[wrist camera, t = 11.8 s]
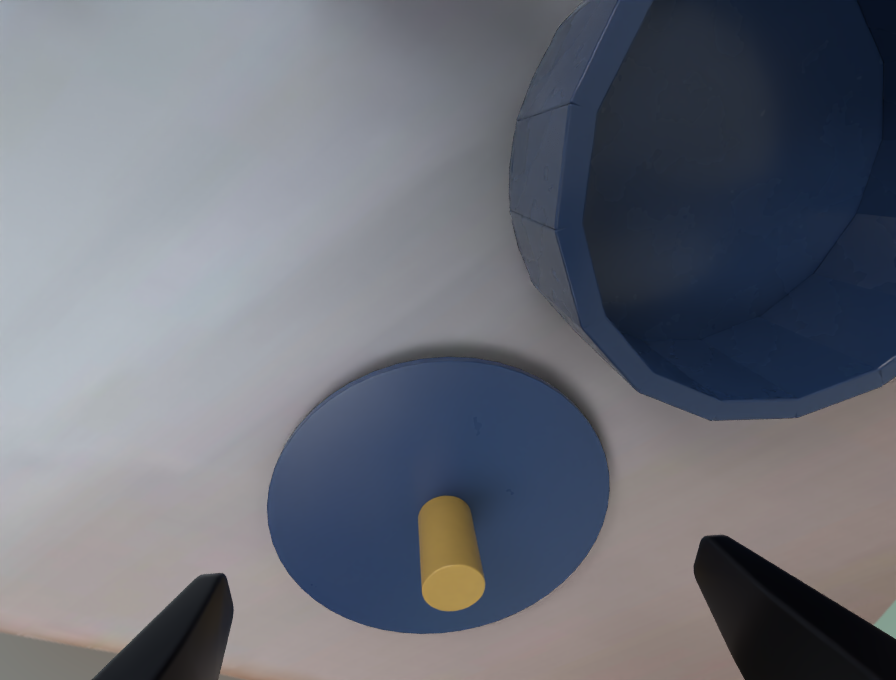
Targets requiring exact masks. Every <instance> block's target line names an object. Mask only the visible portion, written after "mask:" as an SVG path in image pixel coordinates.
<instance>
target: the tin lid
mask: <svg viewBox="0 0 896 680" xmlns="http://www.w3.org/2000/svg"><path fill="white" fill-rule="evenodd" d="M609 491H610V488H609V470H608V466H607V461H606V456H605V453H604V450H603V448H602V445H601V443H600V440H599V438H598V436H597V434H596V433H595V431H594V429H593V428H592V426H591V424H590V423H589V421H588V420H587V418H586V417H585V416H584V415H583V414H582V412H581V411H580V410H579V409H578V408H577V406H576V405H575V404H574V403H573V402H572V401H571V400H570V399H568V398H567V397H566V396H565V395H564V394H563V393H562V392H560V391H559V390H558V389H557V388H555V387H553V386H552V385H550V384H549V383H547V382H546V381H544V380H543V379H541V378H539V377H537V376H535V375H532V374H530V373H528V372H526V371H524V370H522V369H519V368H516V367H513V366H509V365H506V364H503V363H499V362H495V361H489V360H483V359H477V358H466V357H438V358H425V359H419V360H414V361H409V362H404V363H398V364H395V365H392V366H389V367H386V368H383V369H380V370H377V371H374V372H372V373H369V374H367V375H365V376H363V377H361V378H359V379H357V380H355V381H352V382H350V383H349V384H347V385H346V386H344V387H343V388H341V389H339V390H338V391H336V392H335V393H333V394H331V395H330V396H329V397H328V398H326V399H325V400H324V401H323V402H322V403H320V404H319V405H318V406H317V407H316V408H314V409H313V410H312V411H311V412H310V413H309V414H308V416H307V417H306V418H305V419H304V420H303V421H302V422H301V423H300V424H299V425H298V427H297V428H296V429H295V431H294V432H293V434H292V435H291V437H290V438H289V440H288V441H287V443H286V444H285V446H284V448H283V450H282V453H281V455H280V457H279V459H278V461H277V463H276V466H275V468H274V472H273V475H272V479H271V482H270V486H269V493H268V502H267V513H268V526H269V530H270V534H271V538H272V542H273V545H274V547H275V550H276V552H277V554H278V556H279V559H280V561H281V562H282V564H283V565H284V567H285V568H286V570H287V572H288V573H289V575H290V576H291V577H292V578H293V579H294V580H295V582H296V583H297V584H298V585H299V586H300V587H301V588H302V589H303V590H304V591H305V592H306V593H307V594H309V595H310V596H311V597H312V598H313V599H314V600H316V601H317V602H319V603H320V604H322V605H323V606H325V607H326V608H328V609H329V610H331V611H333V612H335V613H337V614H339V615H341V616H343V617H345V618H347V619H350V620H352V621H355V622H358V623H360V624H363V625H366V626H370V627H374V628H378V629H382V630H388V631H394V632H401V633H417V634H430V633H446V632H454V631H461V630H466V629H470V628H475V627H480V626H483V625H486V624H489V623H492V622H496V621H499V620H501V619H503V618H506V617H508V616H511V615H513V614H515V613H517V612H519V611H521V610H523V609H525V608H527V607H529V606H531V605H533V604H534V603H536V602H537V601H539V600H540V599H542V598H543V597H545V596H546V595H548V594H549V593H550V592H552V591H553V590H554V589H555V588H557V587H558V586H559V585H560V584H561V583H563V582H564V581H565V580H566V579H567V578H568V577H569V576H570V575H571V574H572V573H573V572H574V571H575V570H576V568H577V567H578V566H579V564H580V563H581V562H582V561H583V559H584V558H585V557H586V556H587V554H588V552H589V551H590V549H591V547H592V546H593V544H594V542H595V541H596V539H597V536H598V534H599V532H600V530H601V527H602V525H603V522H604V518H605V515H606V511H607V508H608V499H609Z"/></svg>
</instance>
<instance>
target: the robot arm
mask: <svg viewBox="0 0 896 680" xmlns="http://www.w3.org/2000/svg"><path fill="white" fill-rule="evenodd" d="M694 575H695V578H696V581H697V583H698V585H699V587H700V589H701V592H702V594H703V596H704V598H705V600H706V602H707V604H708V606H709V608H710V611H711V613H712V615H713V617H714V619H715V621H716V623H717V625H718V627H719V630H720V632H721V634H722V636H723V638H724V640H725V642H726V644H727V647H728V649H729V651H730V653H731V655H732V657H733V659H734V661H735V663H736V664H737V666H738V668H739V670H740V672H741V674H742V675H743V677H744V679H745V680H896V639H894V638H893V637H891V636H890V635H888V634H887V633H885V632H883V631H882V630H880V629H878V628H877V627H875V626H873V625H872V624H870V623H869V622H867V621H865V620H864V619H862V618H860V617H859V616H857V615H856V614H854V613H852V612H851V611H849V610H847V609H846V608H844V607H842V606H841V605H839V604H838V603H836V602H834V601H833V600H831V599H829V598H828V597H826V596H825V595H823V594H821V593H820V592H818V591H816V590H815V589H813V588H811V587H810V586H808V585H807V584H805V583H803V582H802V581H800V580H798V579H797V578H795V577H794V576H792V575H790V574H789V573H787V572H785V571H784V570H782V569H780V568H779V567H777V566H776V565H774V564H772V563H771V562H769V561H767V560H766V559H764V558H763V557H761V556H759V555H758V554H756V553H754V552H753V551H751V550H749V549H748V548H746V547H745V546H743V545H741V544H740V543H738V542H736V541H735V540H733V539H732V538H730V537H728V536H725V535H710V536H704V537H703V538H702V539H701V542H700V545H699V549H698V552H697V556H696V559H695V563H694ZM232 619H233V602H232V598H231V594H230V589H229V585H228V581H227V578H226V576H225V575H224V574H223V573H215V574H203V575H200V576H199V577H197V578H196V579H195V580H193V581H192V582H191V583H190V584H189V585H188V586H187V587H186V588H185V589H184V590H183V591H182V592H181V593H180V594H179V595H178V596H177V597H176V598H175V599H174V600H173V601H172V602H171V603H170V604H169V605H168V606H167V607H166V608H165V609H164V610H163V611H162V612H161V613H160V614H159V615H158V616H156V617H155V618H154V619H153V620H152V621H151V622H150V623H149V624H148V625H147V626H146V627H145V628H144V629H143V630H142V631H141V632H140V633H139V634H138V635H137V636H136V637H135V638H134V639H133V640H132V641H131V642H130V643H129V644H128V645H127V646H126V647H125V648H124V649H123V650H122V651H121V652H120V653H118V654H117V655H116V656H115V657H114V658H113V659H112V660H111V661H110V662H109V663H108V664H107V665H106V666H105V667H104V668H103V669H102V670H101V671H100V672H99V673H98V674H97V675H96V676H95V677H94V678H93V679H92V680H218V678H219V674H220V670H221V666H222V661H223V657H224V653H225V649H226V645H227V640H228V636H229V632H230V628H231V624H232Z"/></svg>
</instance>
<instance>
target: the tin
mask: <svg viewBox="0 0 896 680" xmlns="http://www.w3.org/2000/svg"><path fill="white" fill-rule="evenodd" d="M509 199H510V215H511V218H512V223H513V228H514V232H515V236H516V240H517V244H518V247H519V250H520V252H521V255H522V257H523V260H524V263H525V265H526V268H527V270H528V272H529V275H530V278H531V282H532V283H533V285H534V286H535V287H536V288H537V289H538V290H539V292H540V293H541V294H542V295H543V296H544V297H545V298H546V299H547V301H548V302H549V303H550V304H551V306H553V307H554V308H555V309H556V311H557V312H558V313H559V314H560V315H561V316H562V317H563V318H564V319H565V321H566V322H567V323H568V324H569V325H570V326H571V327H572V328H573V330H574V331H575V332H576V333H577V334H578V335H579V336H580V337H581V338H582V339H584V340H585V341H586V342H587V343H588V344H589V345H590V346H591V347H592V348H593V349H594V350H595V351H596V352H597V353H598V354H599V355H600V356H601V357H602V358H603V359H604V360H605V361H606V362H607V363H608V364H609V365H610V366H611V367H612V368H613V369H614V370H616V371H617V372H618V373H619V374H620V375H621V376H622V377H623V378H624V379H625V380H626V381H627V382H628V383H629V384H630V385H631V386H632V387H633V388H634V389H635V390H637V391H638V392H639V393H641V394H644V395H646V396H649V397H651V398H654V399H656V400H659V401H662V402H664V403H667V404H669V405H672V406H674V407H677V408H679V409H682V410H684V411H687V412H689V413H692V414H695V415H697V416H700V417H702V418H705V419H707V420H710V421H712V420H714V421H719V420H751V419H782V418H798V417H801V416H804V415H807V414H809V413H812V412H815V411H817V410H820V409H823V408H825V407H828V406H831V405H833V404H836V403H839V402H842V401H844V400H847V399H850V398H852V397H855V396H858V395H860V394H863V393H866V392H869V391H871V390H874V389H877V388H879V387H882V385H884V384H886V383H887V382H889V381H890V380H892V379H893V378H894V377H896V0H584V1H583V2H582V3H581V4H580V6H579V7H578V8H577V9H576V10H575V11H574V12H573V13H572V14H571V15H570V16H569V17H568V18H567V19H566V20H565V21H564V22H563V23H562V24H561V25H560V27H559V28H558V29H557V31H556V33H555V35H554V37H553V40H552V42H551V44H550V46H549V47H548V49H547V51H546V53H545V55H544V57H543V59H542V60H541V62H540V64H539V66H538V68H537V70H536V72H535V74H534V76H533V78H532V80H531V83H530V86H529V88H528V91H527V94H526V96H525V99H524V101H523V104H522V107H521V110H520V113H519V115H518V118H517V123H516V130H515V133H514V137H513V144H512V152H511V159H510V167H509Z"/></svg>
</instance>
